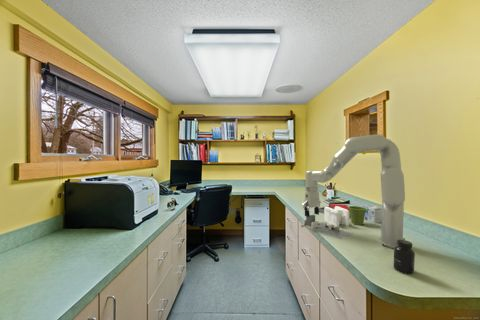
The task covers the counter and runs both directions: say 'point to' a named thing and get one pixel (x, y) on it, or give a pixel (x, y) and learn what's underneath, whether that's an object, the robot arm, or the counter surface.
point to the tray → (323, 210)
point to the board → (327, 229)
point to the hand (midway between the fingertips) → (311, 215)
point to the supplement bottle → (404, 257)
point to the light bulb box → (373, 213)
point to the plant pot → (357, 214)
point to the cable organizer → (336, 216)
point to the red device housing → (339, 206)
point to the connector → (310, 219)
